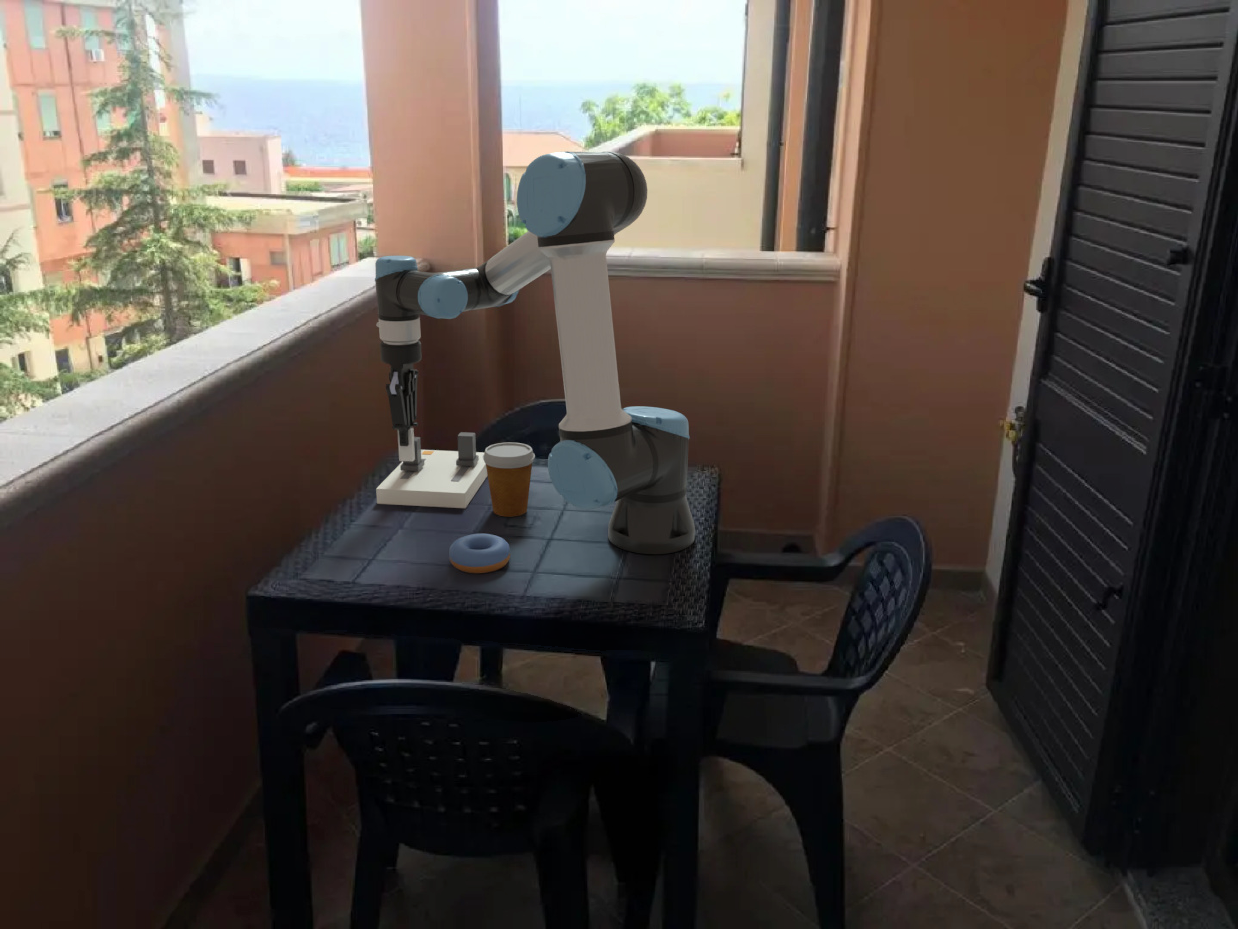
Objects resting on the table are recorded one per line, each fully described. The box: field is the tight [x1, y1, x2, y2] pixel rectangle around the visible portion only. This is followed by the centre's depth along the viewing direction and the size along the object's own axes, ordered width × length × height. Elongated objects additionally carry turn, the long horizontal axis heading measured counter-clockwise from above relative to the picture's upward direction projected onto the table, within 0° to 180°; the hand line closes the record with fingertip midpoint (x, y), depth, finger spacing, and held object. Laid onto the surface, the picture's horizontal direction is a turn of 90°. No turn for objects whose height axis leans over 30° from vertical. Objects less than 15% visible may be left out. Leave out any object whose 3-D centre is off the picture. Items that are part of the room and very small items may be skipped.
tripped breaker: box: [399, 436, 424, 471], centre depth 193 cm, size 4×4×6 cm
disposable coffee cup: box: [483, 441, 536, 518], centre depth 180 cm, size 10×10×12 cm
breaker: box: [456, 431, 479, 466], centre depth 196 cm, size 4×4×6 cm
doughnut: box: [448, 533, 511, 574], centre depth 160 cm, size 10×10×5 cm
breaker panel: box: [375, 449, 488, 509], centre depth 194 cm, size 24×17×3 cm
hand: (407, 459), depth 190 cm, fingers closed
